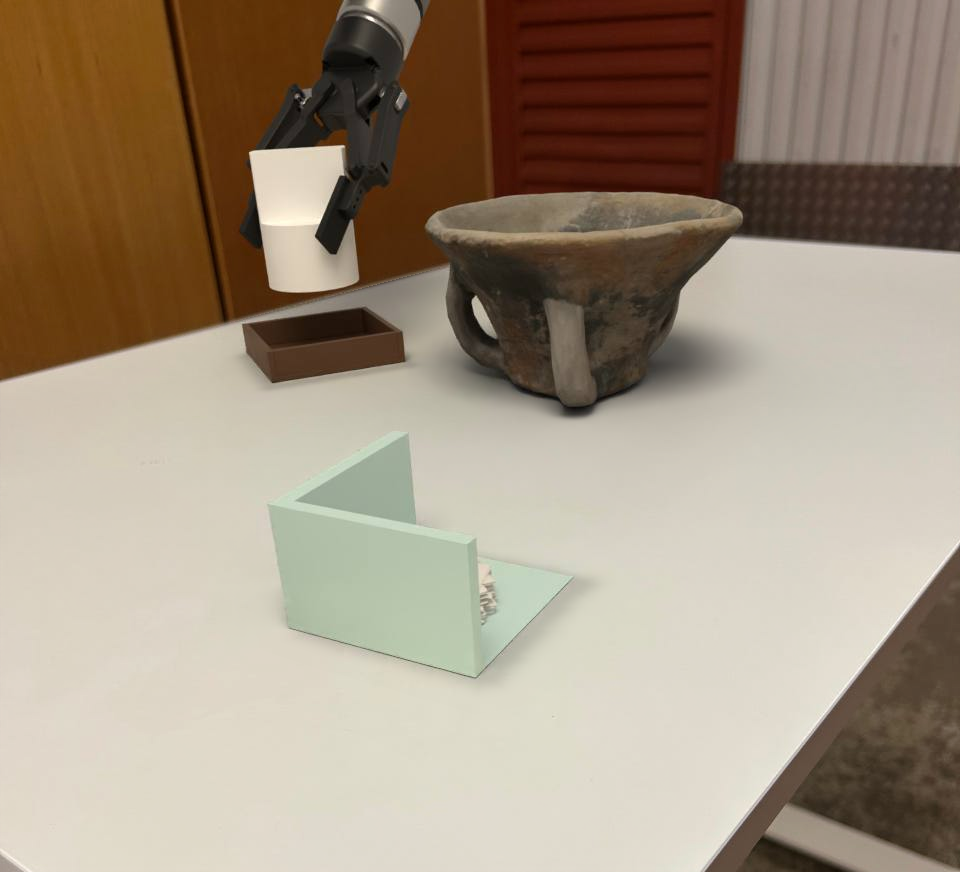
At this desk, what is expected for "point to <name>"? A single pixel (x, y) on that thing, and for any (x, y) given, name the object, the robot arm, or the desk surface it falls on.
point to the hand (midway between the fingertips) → (286, 242)
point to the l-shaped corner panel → (396, 568)
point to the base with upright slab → (301, 218)
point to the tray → (322, 343)
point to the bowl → (575, 282)
